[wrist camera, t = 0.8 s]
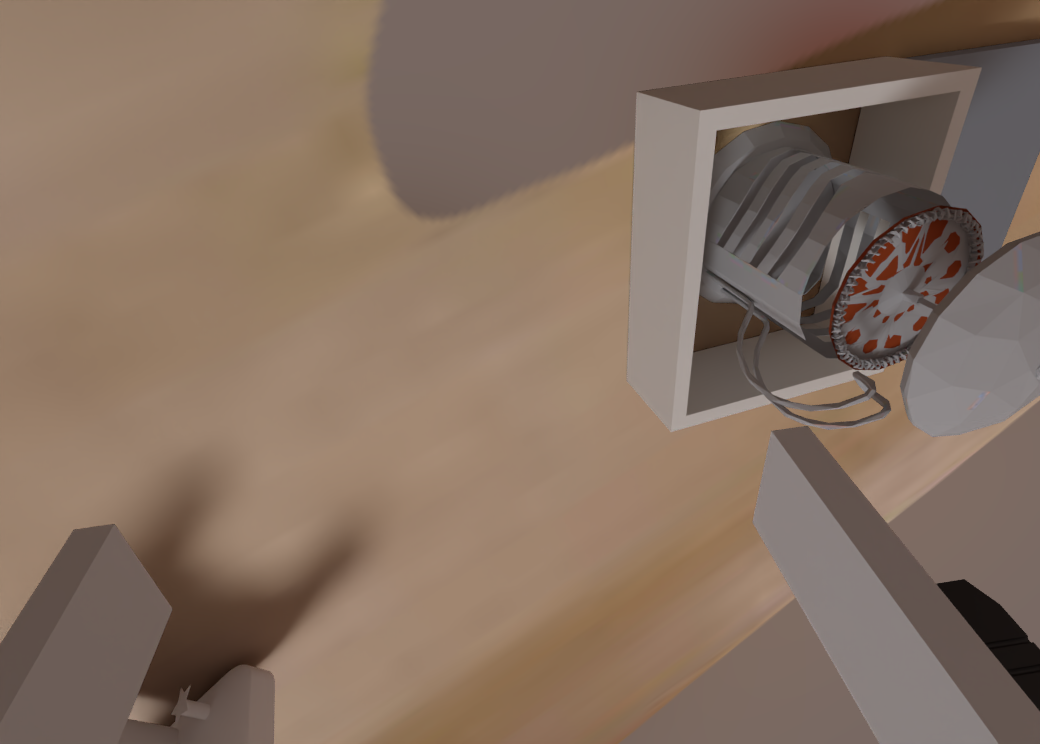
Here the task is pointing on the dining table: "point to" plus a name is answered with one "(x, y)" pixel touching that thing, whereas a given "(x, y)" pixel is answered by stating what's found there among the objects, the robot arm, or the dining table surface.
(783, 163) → the french press
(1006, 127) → the rubber mat
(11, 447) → the dining table surface
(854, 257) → the white open storage bin
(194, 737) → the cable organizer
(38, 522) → the dining table surface
